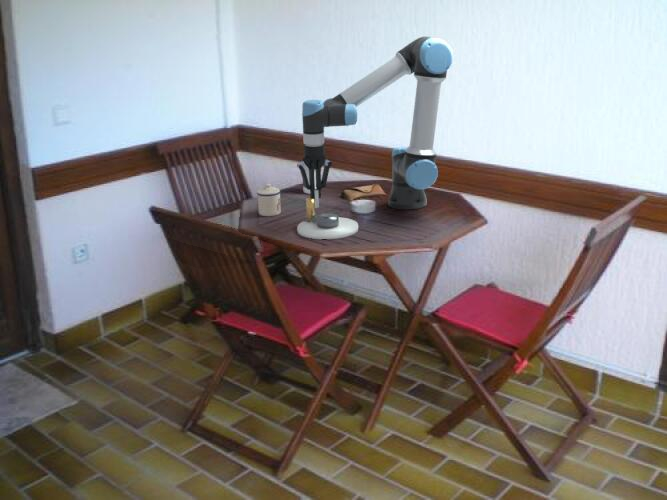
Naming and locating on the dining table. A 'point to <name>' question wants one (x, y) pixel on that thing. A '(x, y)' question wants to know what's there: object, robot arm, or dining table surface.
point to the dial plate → (328, 229)
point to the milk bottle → (308, 180)
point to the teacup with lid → (269, 201)
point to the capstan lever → (320, 216)
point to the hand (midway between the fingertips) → (316, 206)
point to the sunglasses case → (362, 192)
